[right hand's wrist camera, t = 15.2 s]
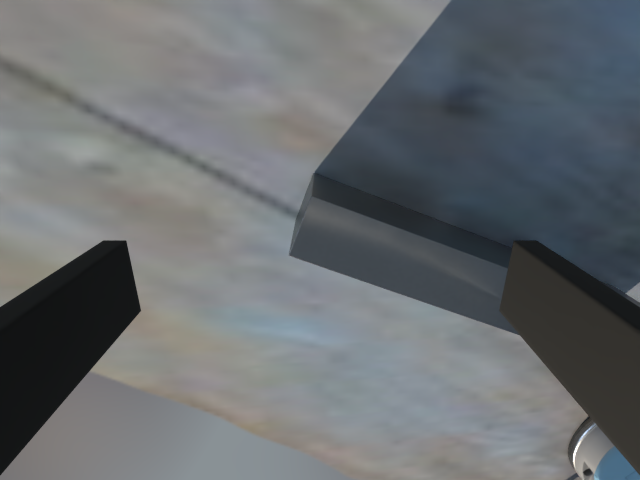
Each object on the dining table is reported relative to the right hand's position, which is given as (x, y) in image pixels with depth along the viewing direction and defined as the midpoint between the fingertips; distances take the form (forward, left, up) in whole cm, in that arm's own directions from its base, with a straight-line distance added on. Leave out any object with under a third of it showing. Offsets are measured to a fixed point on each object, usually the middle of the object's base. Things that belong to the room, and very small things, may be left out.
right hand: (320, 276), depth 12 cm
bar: (+9, +15, -24) cm, 30 cm away
